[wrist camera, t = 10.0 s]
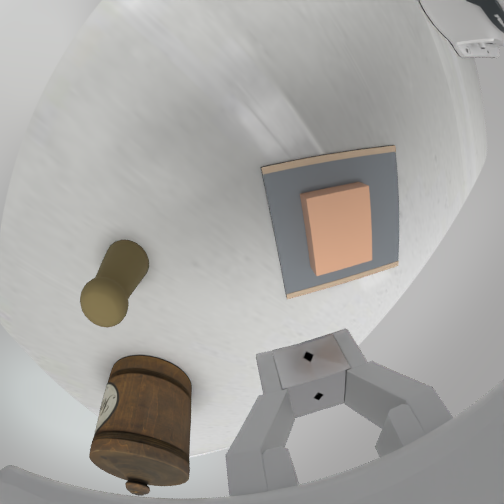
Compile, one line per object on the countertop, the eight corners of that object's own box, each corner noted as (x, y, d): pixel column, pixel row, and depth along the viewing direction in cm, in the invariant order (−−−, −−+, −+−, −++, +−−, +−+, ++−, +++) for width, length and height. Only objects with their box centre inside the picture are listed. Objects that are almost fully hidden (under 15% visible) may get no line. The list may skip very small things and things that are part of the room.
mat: (393, 145, 31) (395, 145, 30) (396, 264, 38) (398, 265, 38) (260, 167, 30) (261, 167, 30) (286, 297, 38) (287, 299, 38)
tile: (299, 193, 32) (359, 181, 32) (310, 267, 36) (363, 252, 36) (306, 198, 30) (368, 185, 30) (316, 276, 34) (372, 260, 34)
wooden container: (102, 350, 39) (66, 465, 19) (188, 356, 41) (185, 486, 21) (122, 401, 45) (106, 496, 25) (194, 406, 47) (197, 508, 27)
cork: (144, 237, 32) (117, 283, 22) (153, 280, 34) (134, 336, 25) (101, 242, 31) (63, 286, 21) (112, 283, 34) (84, 336, 24)
